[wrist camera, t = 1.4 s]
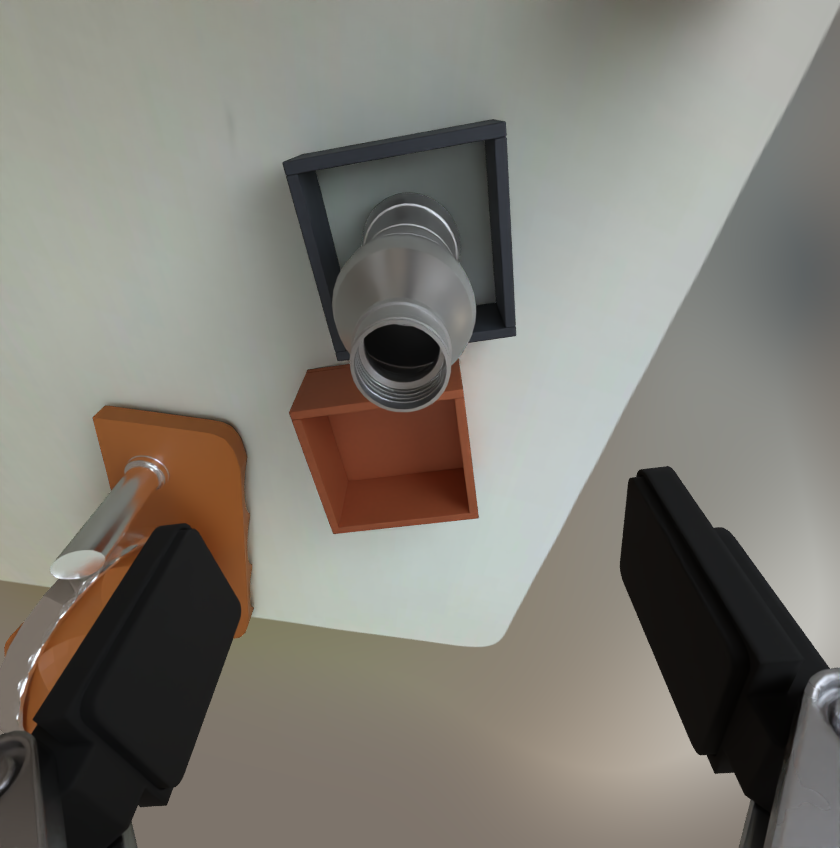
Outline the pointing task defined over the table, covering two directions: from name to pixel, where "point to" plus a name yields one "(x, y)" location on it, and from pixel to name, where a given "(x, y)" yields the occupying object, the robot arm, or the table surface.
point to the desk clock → (131, 539)
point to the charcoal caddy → (302, 169)
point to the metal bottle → (405, 303)
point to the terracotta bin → (384, 454)
